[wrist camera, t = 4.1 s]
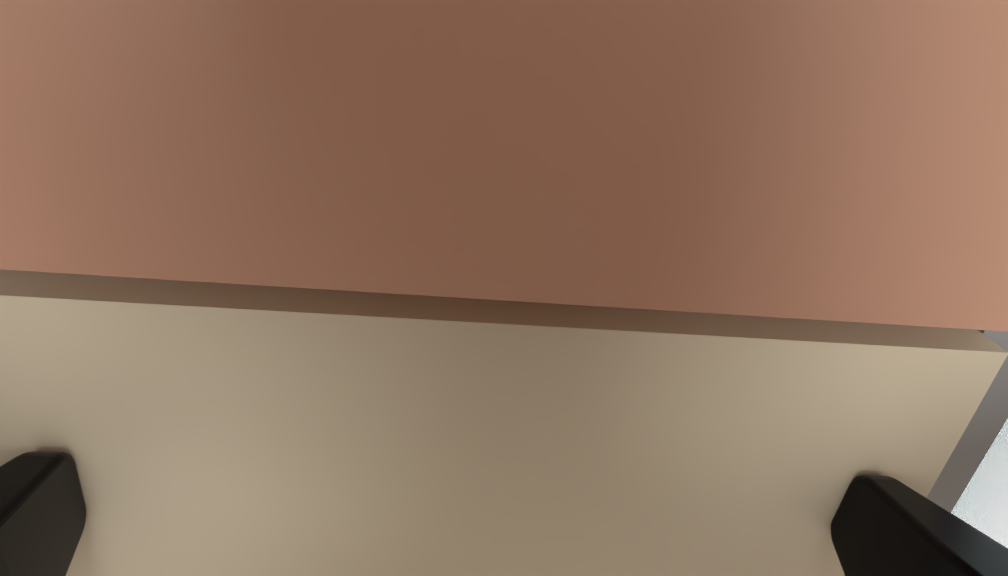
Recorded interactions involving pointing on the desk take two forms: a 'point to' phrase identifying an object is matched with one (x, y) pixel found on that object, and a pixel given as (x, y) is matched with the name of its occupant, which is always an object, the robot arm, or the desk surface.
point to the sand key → (464, 428)
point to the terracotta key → (521, 150)
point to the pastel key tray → (975, 435)
